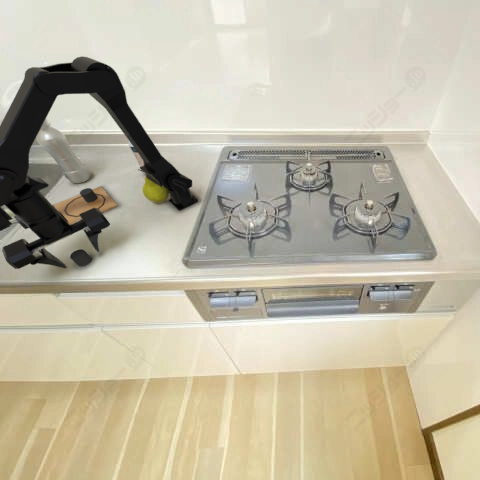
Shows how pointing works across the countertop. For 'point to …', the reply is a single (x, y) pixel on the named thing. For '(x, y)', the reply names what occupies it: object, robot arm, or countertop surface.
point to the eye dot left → (81, 257)
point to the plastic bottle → (62, 153)
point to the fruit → (154, 191)
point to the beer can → (137, 155)
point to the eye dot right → (88, 195)
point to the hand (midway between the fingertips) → (82, 258)
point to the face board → (84, 205)
